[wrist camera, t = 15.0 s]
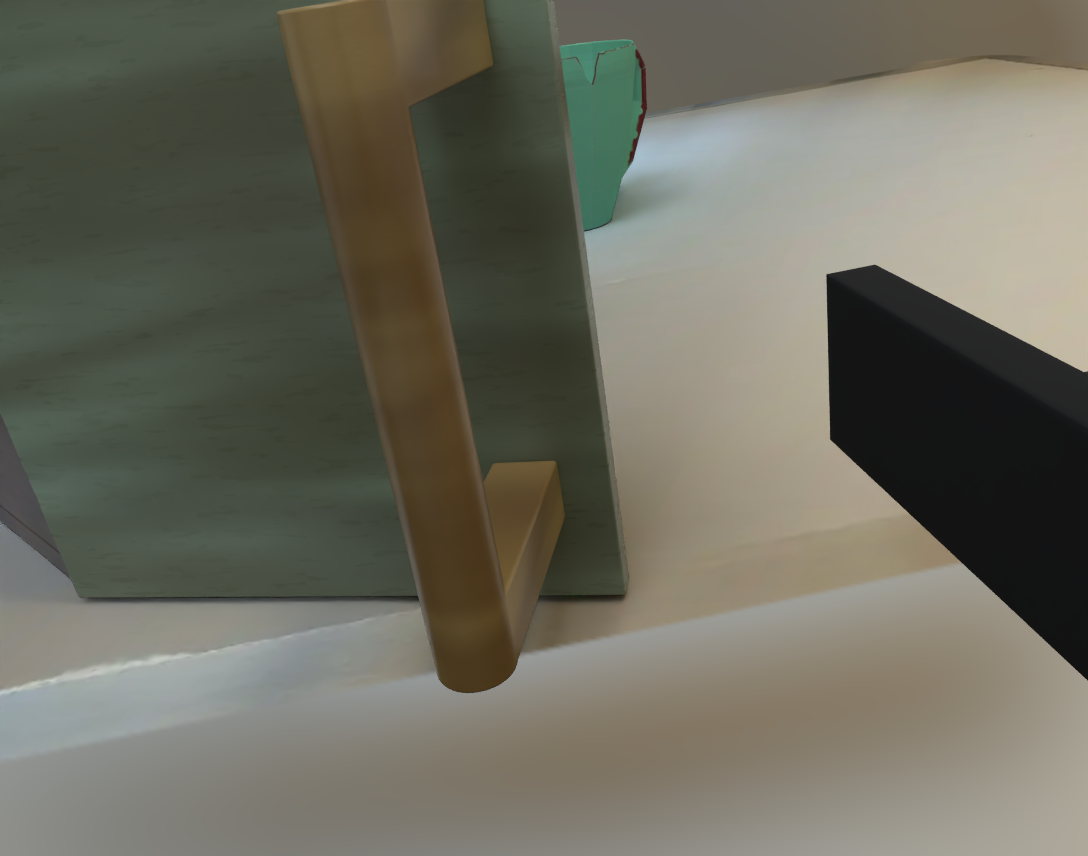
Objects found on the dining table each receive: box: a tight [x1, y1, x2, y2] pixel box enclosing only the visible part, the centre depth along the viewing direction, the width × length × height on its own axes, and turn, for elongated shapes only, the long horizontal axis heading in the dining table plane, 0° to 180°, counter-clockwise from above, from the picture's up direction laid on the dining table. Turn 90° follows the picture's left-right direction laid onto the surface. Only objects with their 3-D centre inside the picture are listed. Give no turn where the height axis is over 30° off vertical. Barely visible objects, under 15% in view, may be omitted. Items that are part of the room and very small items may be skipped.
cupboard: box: [0, 413, 70, 577], centre depth 34 cm, size 12×16×17 cm
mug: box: [560, 40, 647, 230], centre depth 60 cm, size 15×10×10 cm
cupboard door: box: [0, 0, 629, 693], centre depth 20 cm, size 7×16×17 cm, turn 79°
